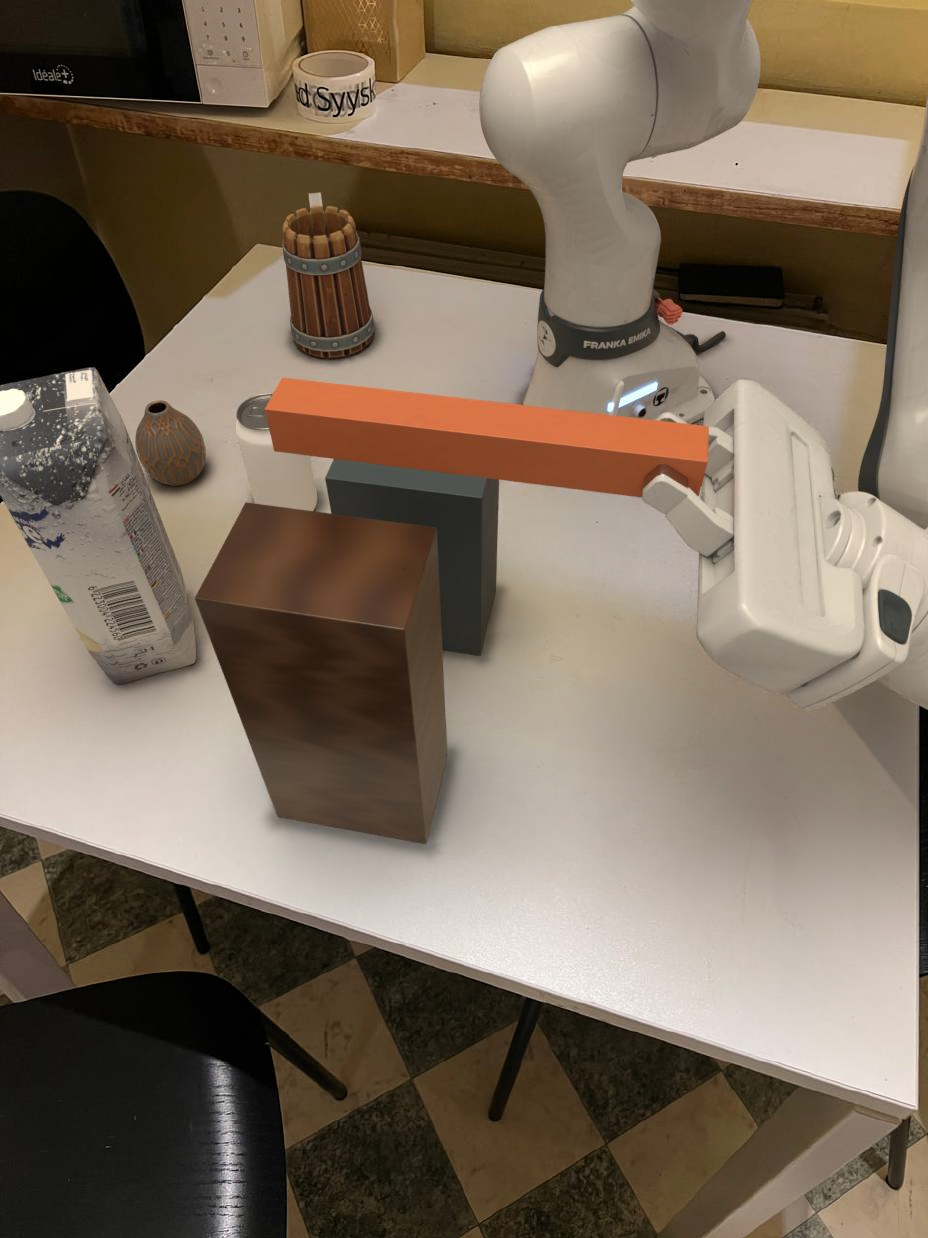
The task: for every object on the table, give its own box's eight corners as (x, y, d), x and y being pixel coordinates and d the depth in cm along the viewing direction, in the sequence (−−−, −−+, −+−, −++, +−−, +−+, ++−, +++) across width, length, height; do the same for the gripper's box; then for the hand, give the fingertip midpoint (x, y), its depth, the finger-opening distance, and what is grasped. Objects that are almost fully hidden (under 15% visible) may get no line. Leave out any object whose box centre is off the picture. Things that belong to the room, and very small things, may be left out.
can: (307, 530, 88) (287, 435, 79) (247, 521, 89) (221, 427, 80) (326, 488, 92) (309, 394, 83) (268, 480, 93) (246, 386, 84)
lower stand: (496, 590, 82) (500, 430, 68) (480, 656, 77) (482, 498, 63) (375, 573, 84) (354, 413, 70) (352, 636, 79) (324, 477, 64)
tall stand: (447, 755, 71) (437, 527, 51) (426, 844, 66) (404, 630, 46) (308, 731, 73) (245, 501, 53) (276, 817, 68) (193, 598, 48)
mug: (379, 356, 108) (368, 238, 96) (294, 365, 107) (272, 247, 95) (367, 292, 118) (356, 178, 106) (290, 299, 117) (269, 185, 105)
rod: (697, 468, 48) (709, 425, 46) (696, 504, 47) (708, 461, 44) (290, 419, 52) (281, 376, 49) (273, 451, 50) (264, 408, 47)
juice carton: (190, 588, 83) (96, 339, 62) (209, 670, 77) (110, 423, 56) (96, 613, 81) (-35, 365, 60) (106, 699, 75) (-35, 455, 54)
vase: (180, 503, 91) (157, 436, 84) (133, 480, 93) (107, 413, 86) (225, 466, 95) (206, 399, 88) (179, 445, 97) (157, 379, 90)
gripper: (868, 425, 54) (697, 306, 51) (909, 687, 42) (685, 554, 38) (791, 485, 59) (630, 380, 55) (808, 737, 46) (599, 623, 42)
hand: (652, 453), depth 46 cm, fingers closed on rod, 3 cm apart
